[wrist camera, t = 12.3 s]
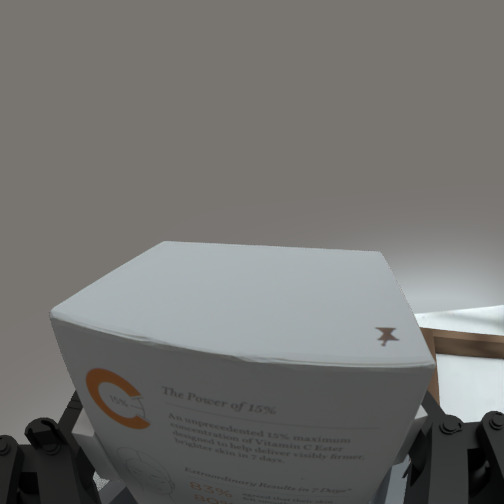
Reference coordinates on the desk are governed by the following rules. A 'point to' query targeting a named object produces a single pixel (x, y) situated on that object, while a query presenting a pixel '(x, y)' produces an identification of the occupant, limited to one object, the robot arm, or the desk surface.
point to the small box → (247, 372)
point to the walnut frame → (460, 348)
